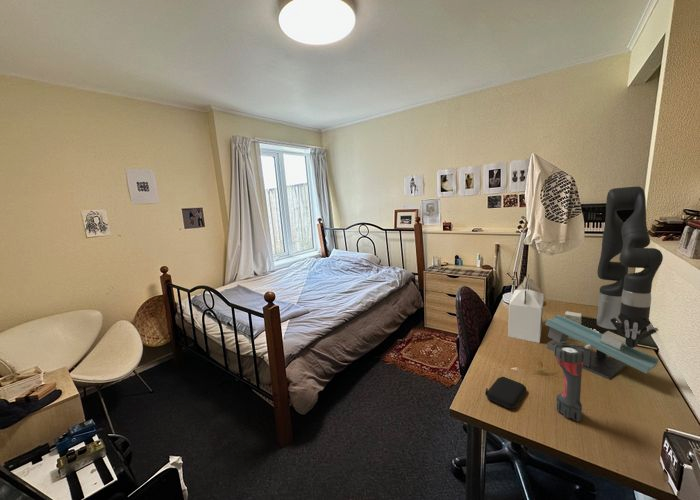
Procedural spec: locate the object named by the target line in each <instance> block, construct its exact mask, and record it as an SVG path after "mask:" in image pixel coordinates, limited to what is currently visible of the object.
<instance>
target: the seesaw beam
mask: <svg viewBox="0 0 700 500" xmlns="http://www.w3.org/2000/svg"><path fill="white" fill-rule="evenodd" d="M545 325H546V326H547V327H549V331H548V334H547V337H548V338H550V339H552V340H555V341H557V342H559V343H560V342H562V341H565V340H568V338H567V337H568V336H570V337H572V338H574V339H576V340H575V341H579V342H580V343H583V344H585V346H584V348H585V349H589V350H590V348H593V349H596V351H597V350H599V351H601V352H603V353H605V354H607V356H608V357H610V358H613V359H616V360H619V361H621V362H624V363H626V364H627V366H630V367H632V368H634V369H636V370H638V371H641V372H642V373H644V374H648V373H649V372H650V371H651V370H653V369H654V368H655V367H656V366H658V363H659V361H660V359H659V358H657V357H655V356H653V355H650V354H648V353H645V352H644V351H641V350H639V349H637V348H636V347H634V348H630V347H627V345H625V347H624V350H623V351H621V352H620V351H618V350H616V349H614V348H611V347H609V346H607V345H605V344H603V343H601V342H600V340H601V337H602V334H603V333H601V332H599V331H596V330H593V329H592V328H590V327H587V326H585V325H582V324H581V325H580V324H578V323H576V322H574V321H571V320H569V319H567V318H565V317H564V316H562V315H561V314H555V317H554V318H549V317H547V319H546V321H545Z"/></svg>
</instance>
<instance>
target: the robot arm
mask: <svg viewBox="0 0 700 500" xmlns="http://www.w3.org/2000/svg"><path fill="white" fill-rule="evenodd" d="M646 203H647V202H646V193H645V190H644V188H643V187H641V186H625V187H615V188H611V189H610V190H609V191H608V193H607V195H606V203H605V204H606V205H605V222H604V229H603V233H602V241H601V253H600V257H599V260H598V261H599V262H598V266H597V270H596V271H597V272H596V273H597V277H598V278H599V279H600V280H603V281H613V282H614V283H609V284H603V285H601V286H600V287H599V293H598V303H597V304H598V306H597V316H596V325H597V326H598V327H601V328H603V329H607V330H613V331H615V330H616V331H617V332H618V333H619V334H621V335H623V336H625V338H626V342H625V343H626V345H627V347H630V348H636V347H638V342H639V341H638V340H644V339H646V338H648V337H650V336H651V335H654V334H655V333H656V332H658V331H659V329H658V328H657V327H654V326H653V325H652V324H651V320H650V312H651V303H652V286H653V281H654V278H655V276H656V273H657V272H658V270H659V268H660V266H661V265H662V262H663V260H664V259H663V258H664V256H663V253H662V251H661V250H659V249H658V248H653V247H648V246H649V245H650V244H651V238H650V233H649V230H648V226H647V204H646ZM625 210H626V211H630V210H632V211H633V210H634V211H633V212H632V214H630V216H629V217H628V218H626V220H625V221H623V220H622V219H621V218H620V216H619V215H618V213H617V211H625ZM616 256H619V259H618V260H619V261H611V260H612V259H614V258H615V257H616ZM629 268H635V269H642V270H641V271H639V272H631V273H629ZM645 328H646V332H644V333H642V334H640V333H641V331H642V330H644V329H645Z"/></svg>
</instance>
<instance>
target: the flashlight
mask: <svg viewBox="0 0 700 500" xmlns="http://www.w3.org/2000/svg"><path fill="white" fill-rule="evenodd" d="M566 342H567V341H565V342H560V344H555V348H554V351H553V353H554V354H553V356H555V360H556V363H558V365H559V366H560V368H561V369H562V372H563V374H562V375H563V384H564V386H563V387H564V389H563V391H562V393H559V394H557V395H556V401H555V402H556V411H557V412H558V413H561V414H562V416H563V417H564V418H566V419H572V420H573V421H576V422H578V423H579V422H581V421H582V412H583V411H582V410H583V404H582V402H581V393H582V391H581V390H582V376H583V370H584V369H583V362H584V354H585V353H584V350H583V349H580V348H579V347H580V345H578V344H577V343H576V344H575V343H573V344H571V343H570V344H566Z"/></svg>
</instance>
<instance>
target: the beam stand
mask: <svg viewBox="0 0 700 500" xmlns="http://www.w3.org/2000/svg"><path fill="white" fill-rule="evenodd" d="M562 342H566V344H571V343H570V342H567V341H565V340H564V341H562ZM555 344H560V343H559V342H557V341H555V340H553V339H552V340H550V341H548V342H547V343H546V349H548V350H550V351H553V352H554V348H555ZM579 348H580V349H583V350H584V353H585V354H584V362H583V369H582V370H585V371H588V372H590V373H593V374H595V375H598V376H600V377H602V378H604V379H607V380H610V379H611V378H612V377H614V376H615V375H617V374H618V373H619V372H621V371H622V370H624V369H625V368H626V367H628V364H626V363H624V362H622V361H620V360H617V359H615V358H613V357H611V356H609V355H607V354H605V353H603V352H601V351H599V350H597V349H596V351H594V350H591V349H590V348H589V349H585V347H583V346H580V345H579Z"/></svg>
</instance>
